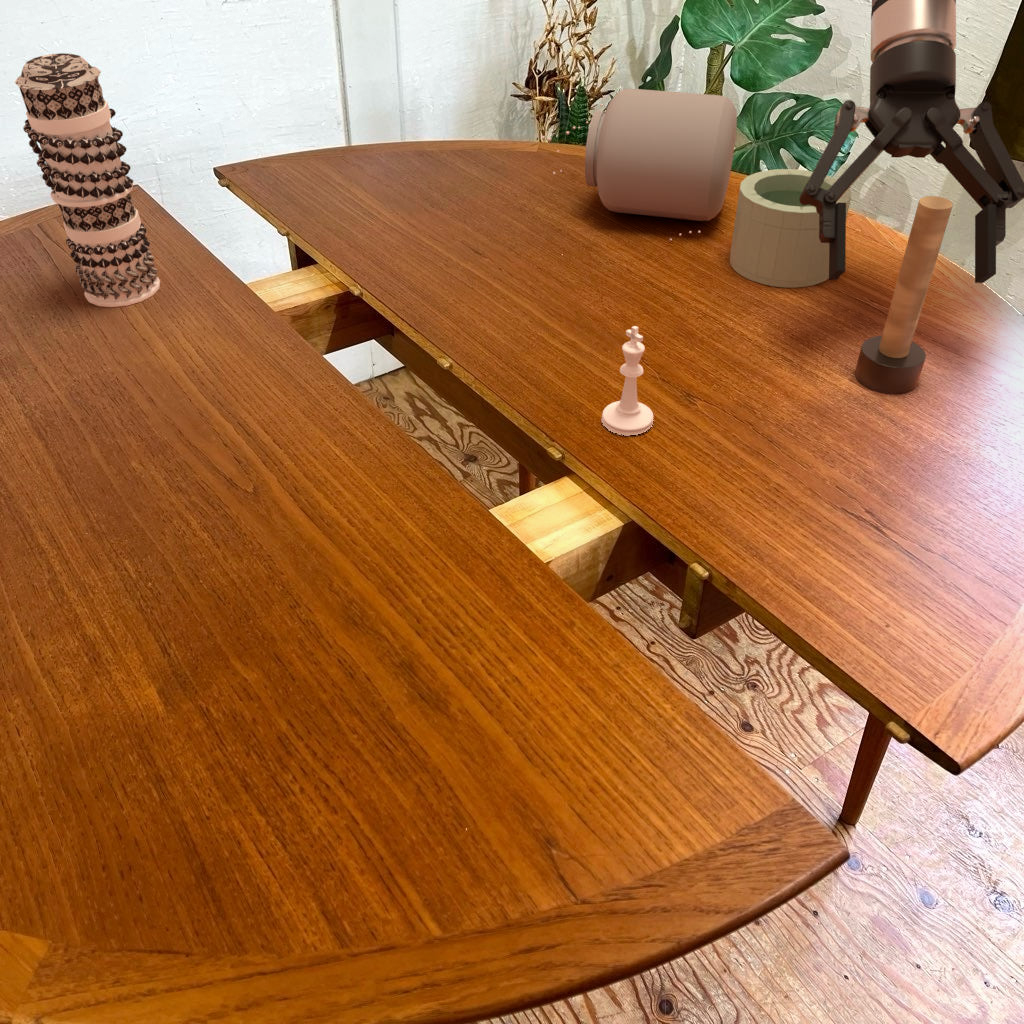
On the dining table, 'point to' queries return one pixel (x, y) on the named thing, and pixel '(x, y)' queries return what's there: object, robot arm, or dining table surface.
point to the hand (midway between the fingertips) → (910, 277)
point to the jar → (662, 153)
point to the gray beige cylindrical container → (780, 230)
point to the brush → (906, 306)
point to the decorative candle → (88, 178)
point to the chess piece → (629, 394)
